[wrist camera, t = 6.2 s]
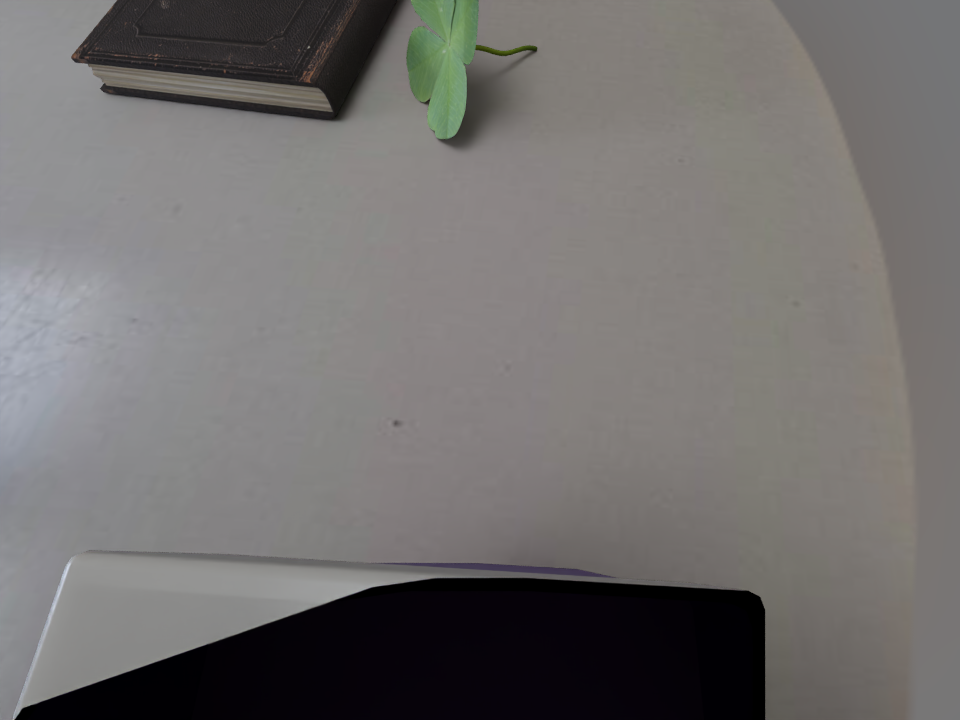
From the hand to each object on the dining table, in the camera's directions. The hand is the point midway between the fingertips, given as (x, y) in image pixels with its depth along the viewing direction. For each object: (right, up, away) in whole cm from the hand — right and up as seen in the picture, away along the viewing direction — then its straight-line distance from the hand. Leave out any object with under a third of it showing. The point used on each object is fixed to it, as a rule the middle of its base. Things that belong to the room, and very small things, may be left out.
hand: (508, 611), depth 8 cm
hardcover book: (-12, +28, +24) cm, 39 cm away
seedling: (-1, +17, +17) cm, 25 cm away
